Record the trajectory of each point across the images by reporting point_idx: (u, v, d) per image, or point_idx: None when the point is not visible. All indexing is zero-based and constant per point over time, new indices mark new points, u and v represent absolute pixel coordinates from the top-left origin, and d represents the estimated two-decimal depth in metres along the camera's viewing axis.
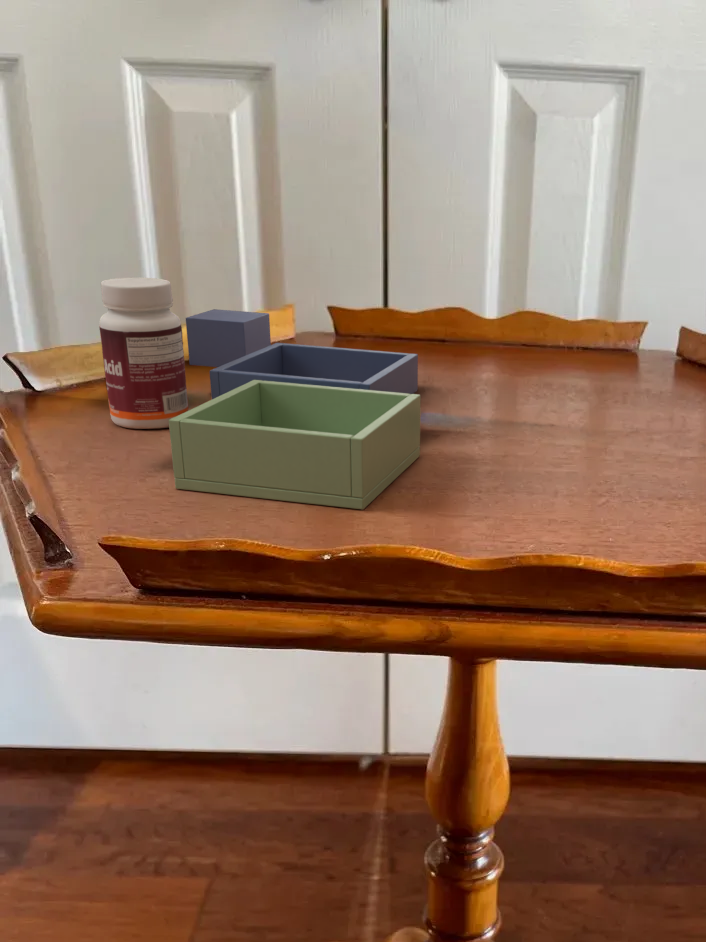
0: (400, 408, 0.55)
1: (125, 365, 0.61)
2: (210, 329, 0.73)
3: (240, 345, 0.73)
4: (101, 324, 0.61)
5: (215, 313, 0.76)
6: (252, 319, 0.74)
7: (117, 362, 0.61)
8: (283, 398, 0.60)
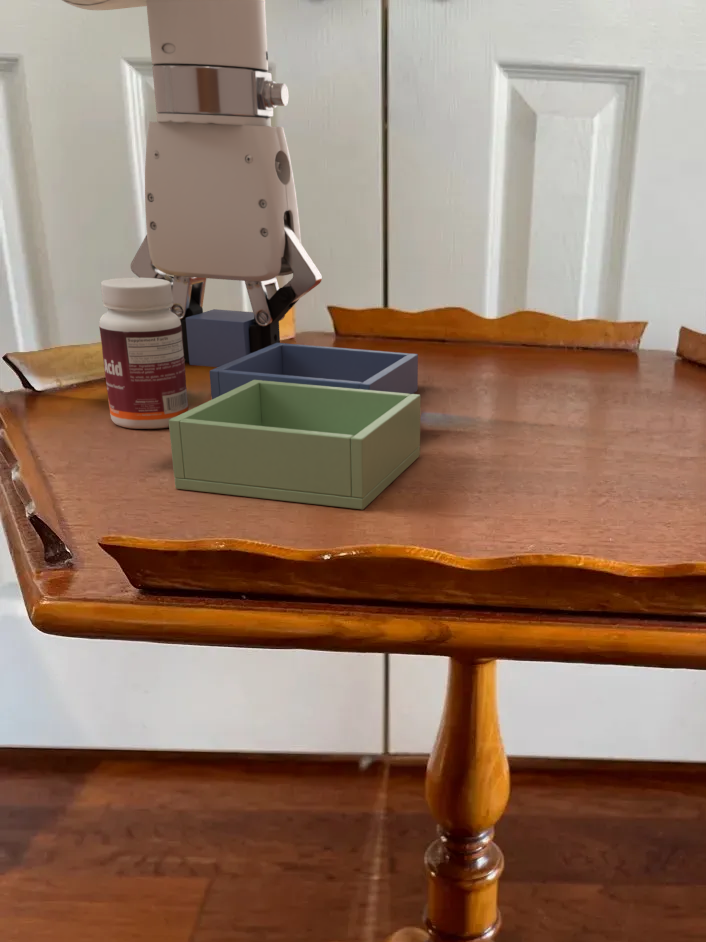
0: (400, 408, 0.55)
1: (125, 365, 0.61)
2: (210, 329, 0.73)
3: (240, 345, 0.73)
4: (101, 324, 0.61)
5: (215, 313, 0.76)
6: (252, 319, 0.74)
7: (117, 362, 0.61)
8: (283, 398, 0.60)
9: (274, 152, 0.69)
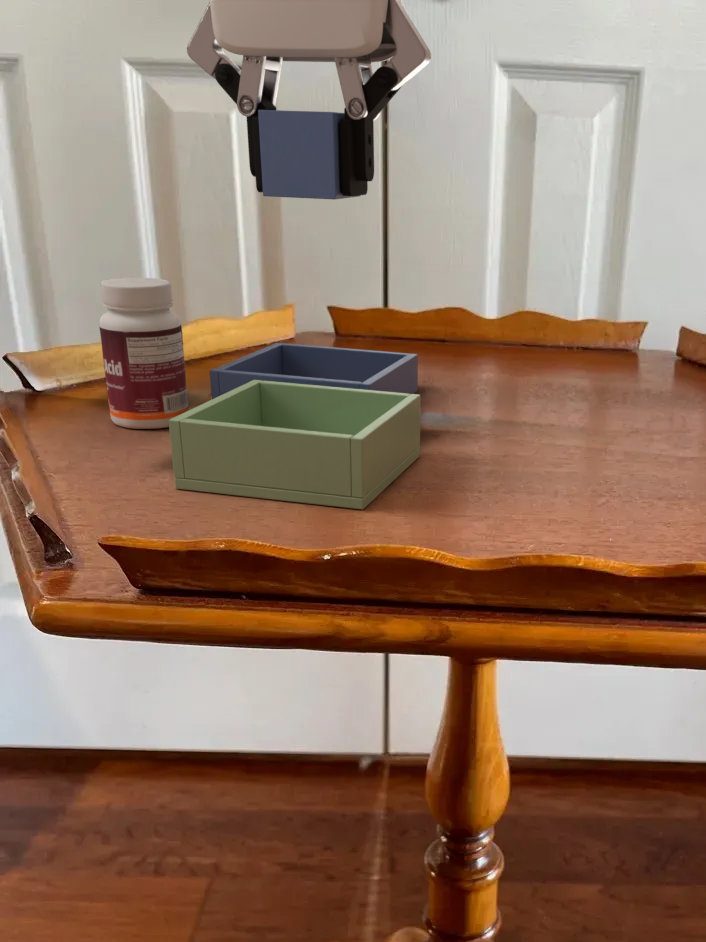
0: (400, 408, 0.55)
1: (125, 365, 0.61)
2: (289, 124, 0.58)
3: (327, 143, 0.58)
4: (101, 324, 0.61)
5: None
6: (341, 113, 0.59)
7: (117, 362, 0.61)
8: (283, 398, 0.60)
9: None
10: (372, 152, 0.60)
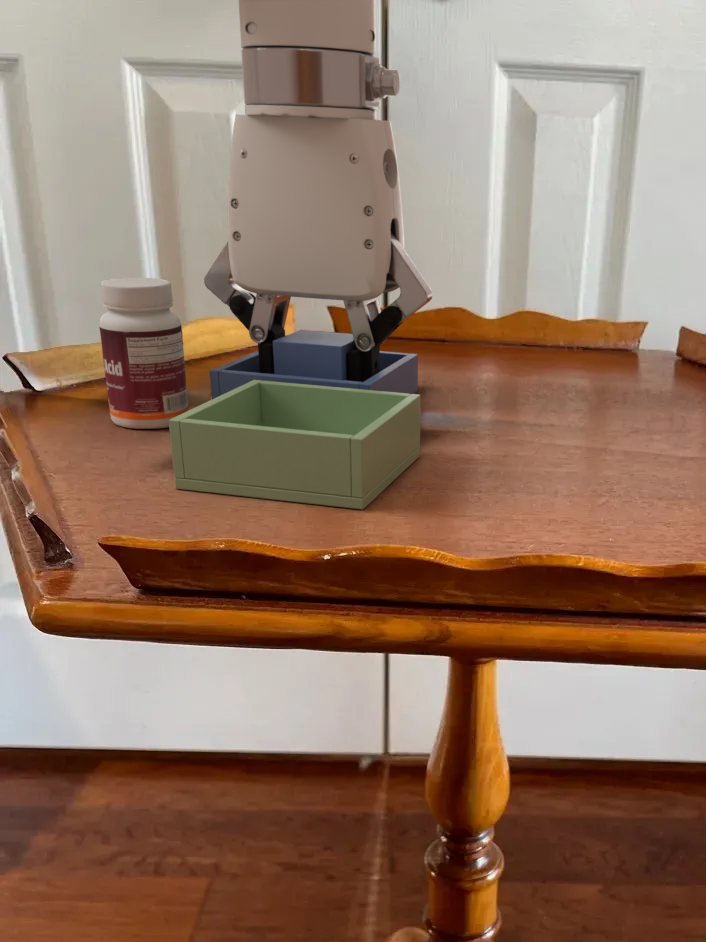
0: (400, 408, 0.55)
1: (125, 365, 0.61)
2: (301, 354, 0.63)
3: (336, 372, 0.63)
4: (101, 324, 0.61)
5: (304, 335, 0.65)
6: (349, 342, 0.64)
7: (117, 362, 0.61)
8: (283, 398, 0.60)
9: (382, 150, 0.58)
10: None
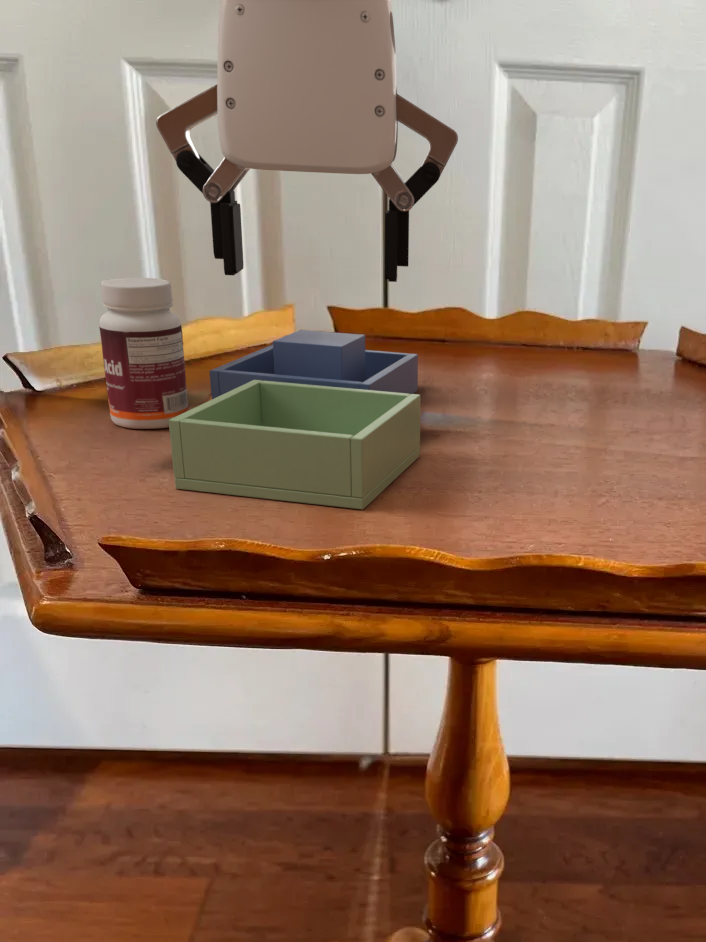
0: (400, 408, 0.55)
1: (125, 365, 0.61)
2: (301, 354, 0.63)
3: (336, 372, 0.63)
4: (101, 324, 0.61)
5: (304, 335, 0.65)
6: (349, 342, 0.64)
7: (117, 362, 0.61)
8: (283, 398, 0.60)
9: (389, 11, 0.57)
10: None
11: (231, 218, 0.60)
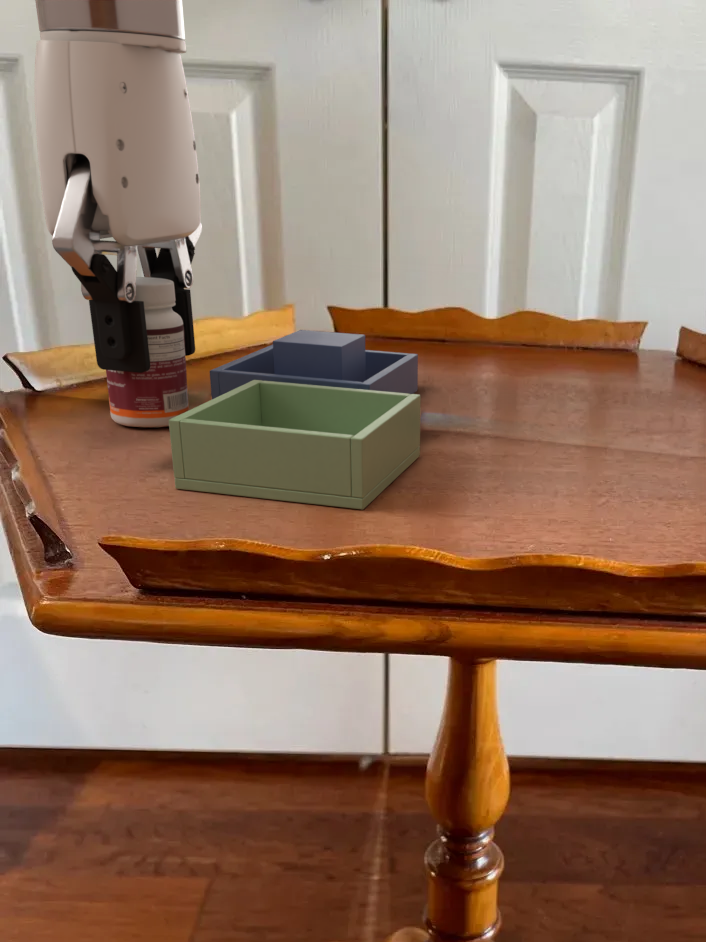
0: (400, 408, 0.55)
1: None
2: (301, 354, 0.63)
3: (336, 372, 0.63)
4: None
5: (304, 335, 0.65)
6: (349, 342, 0.64)
7: None
8: (283, 398, 0.60)
9: None
10: None
11: (144, 315, 0.59)
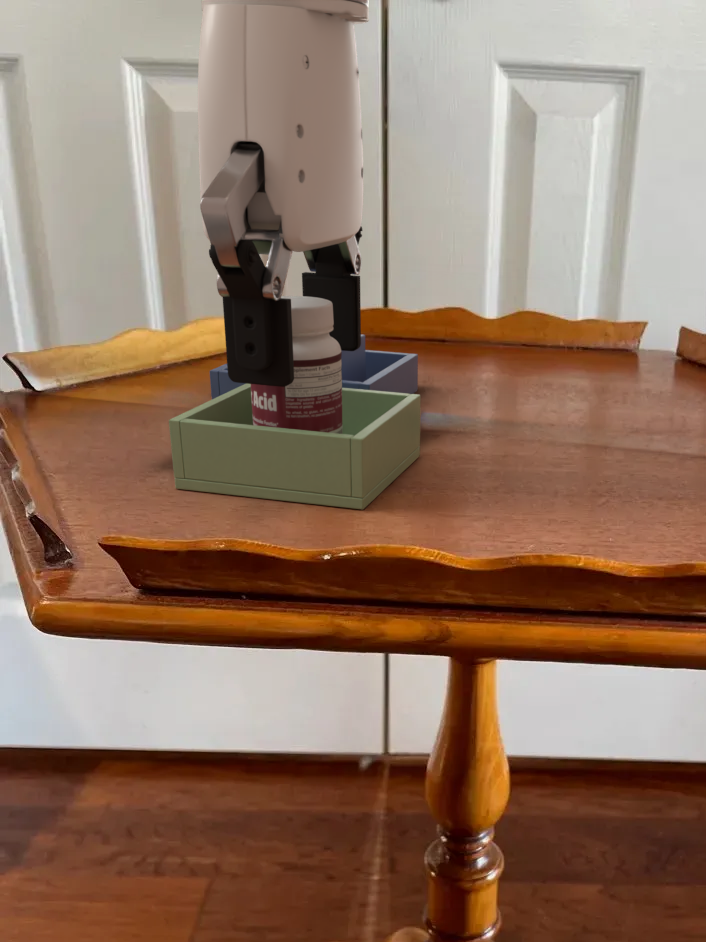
0: (400, 408, 0.55)
1: (281, 399, 0.52)
2: None
3: None
4: None
5: None
6: None
7: (271, 395, 0.52)
8: None
9: None
10: None
11: None
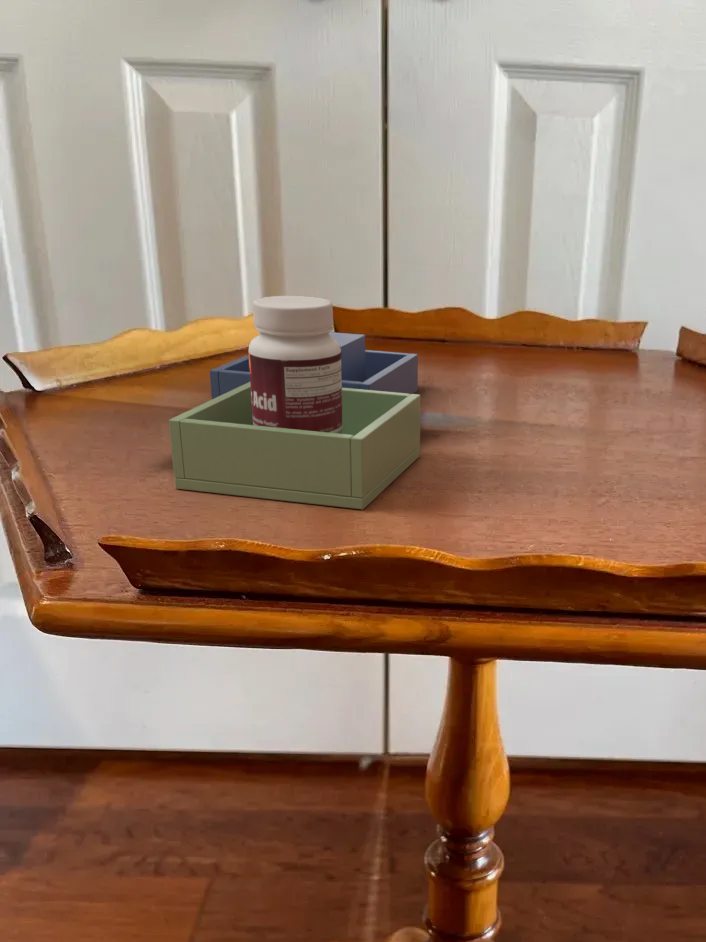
0: (400, 408, 0.55)
1: (281, 399, 0.52)
2: None
3: None
4: (253, 351, 0.52)
5: None
6: (349, 342, 0.64)
7: (271, 395, 0.52)
8: None
9: None
10: None
11: None
